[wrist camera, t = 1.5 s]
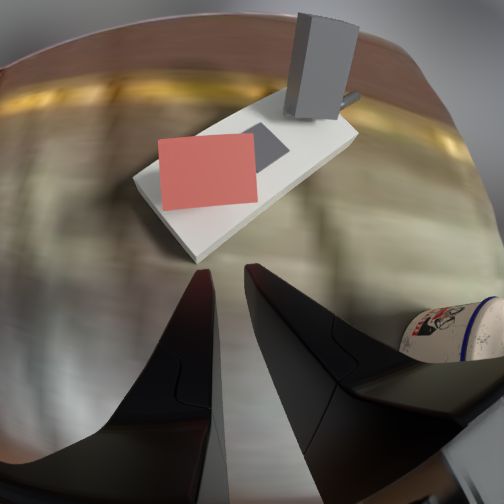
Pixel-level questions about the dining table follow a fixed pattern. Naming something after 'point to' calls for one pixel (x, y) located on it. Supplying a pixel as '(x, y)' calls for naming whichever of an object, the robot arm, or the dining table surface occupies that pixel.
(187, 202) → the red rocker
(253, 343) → the dining table surface
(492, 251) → the dining table surface
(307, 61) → the block
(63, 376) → the dining table surface
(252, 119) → the power strip
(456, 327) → the teacup with lid
